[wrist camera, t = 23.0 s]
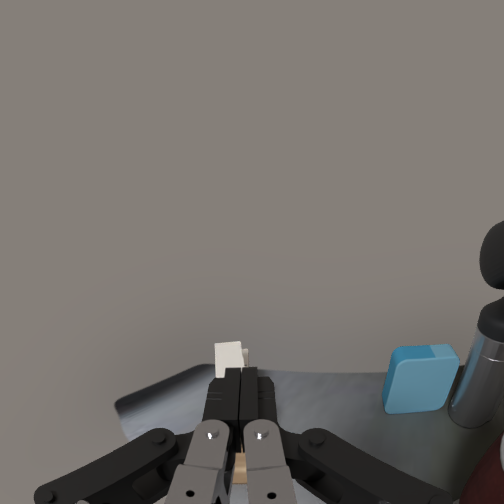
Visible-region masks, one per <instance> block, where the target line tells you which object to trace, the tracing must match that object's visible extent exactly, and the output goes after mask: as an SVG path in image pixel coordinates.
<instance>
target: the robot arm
mask: <svg viewBox="0 0 504 504" xmlns="http://www.w3.org/2000/svg"><path fill="white" fill-rule="evenodd" d="M480 270H481V273H482V276H483V278H484V280H485V281H486V282H487V284H488V285H490V286H491V287H493V288H496V289H502V290H504V221H502V222H500V223H498V224H496V225H495V226H493V227H492V228H491V229H490V230H489V232H488V233H487V235H486V237H485V238H484V241H483V244H482V247H481V251H480ZM503 397H504V297H502V298H501V299H499V300H497V301H495V302H492V303H490V304H488V305H486V306H485V307H484V308H483V309H482V310H481V313H480V316H479V320H478V324H477V328H476V331H475V335H474V338H473V342H472V345H471V348H470V351H469V355H468V358H467V361H466V363H465V366H464V369H463V372H462V375H461V377H460V380H459V383H458V385H457V388H456V390H455V393H454V395H453V397H452V399H451V402H450V404H449V407H448V412H449V416H450V417H451V419H452V420H453V421H454V422H455V423H457V424H458V425H460V426H463V427H467V428H475V427H479V426H481V425H483V424H484V423H485V422H487V421H491V420H492V418H493V416H494V414H495V412H496V410H497V408H498V407H499V405H500V403H501V401H502V399H503ZM241 449H243V453H245V458H246V474H247V486H248V498H249V504H297V501H296V496H295V492H294V487H293V482H292V479H295V480H296V481H297V483H299V484H300V485H301V486H303V487H304V488H305V489H307V490H308V491H309V492H311V493H312V494H314V495H315V496H316V497H318V498H319V499H321V500H322V501H324V502H325V503H327V504H453V498H452V496H451V495H450V494H449V493H448V492H446V491H444V490H442V489H440V488H437V487H435V486H433V485H430V484H428V483H426V482H423V481H421V480H419V479H417V478H415V477H412V476H410V475H408V474H406V473H404V472H402V471H400V470H398V469H396V468H394V467H392V466H390V465H388V464H386V463H384V462H382V461H380V460H378V459H376V458H375V457H373V456H371V455H369V454H367V453H365V452H363V451H362V450H360V449H358V448H356V447H355V446H353V445H351V444H349V443H348V442H346V441H344V440H342V439H341V438H339V437H337V436H336V435H334V434H332V433H331V432H329V431H327V430H325V429H321V428H313V429H309V430H306V431H305V432H303V433H302V434H295V433H290V432H287V431H285V430H284V429H282V428H281V427H280V426H279V424H278V422H277V413H276V402H275V392H274V383H273V382H272V380H271V379H270V378H269V377H258V374H257V367H242V372H241V367H233V368H225V375H224V378H214V379H213V381H212V382H211V383H210V384H209V388H208V393H207V400H206V403H205V408H204V414H203V419H202V422H201V423H200V424H198V425H197V427H196V428H195V430H194V431H192V432H190V433H186V434H180V435H174V433H173V432H172V431H170V430H168V429H165V428H155V429H152V430H150V431H148V432H146V433H144V434H143V435H141V436H139V437H138V438H136V439H134V440H132V441H131V442H129V443H127V444H125V445H124V446H122V447H120V448H118V449H116V450H114V451H113V452H111V453H109V454H107V455H105V456H103V457H101V458H99V459H97V460H95V461H93V462H91V463H89V464H88V465H86V466H84V467H81V468H79V469H77V470H75V471H73V472H71V473H69V474H67V475H65V476H62V477H60V478H58V479H56V480H53V481H51V482H49V483H47V484H44V485H42V486H40V487H38V489H37V490H36V491H35V494H34V501H35V504H153V503H155V502H156V501H158V500H160V499H161V498H163V497H164V496H166V495H167V497H166V500H165V503H164V504H230V494H231V488H232V482H233V476H234V470H235V459H236V453H241Z"/></svg>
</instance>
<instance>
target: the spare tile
mask: <svg viewBox="0 0 504 504" xmlns="http://www.w3.org/2000/svg"><path fill="white" fill-rule="evenodd" d="M232 484H247V474H246V458H245V453H243V449H241V453H236V459H235V470H234V476H233V482H232Z"/></svg>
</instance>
